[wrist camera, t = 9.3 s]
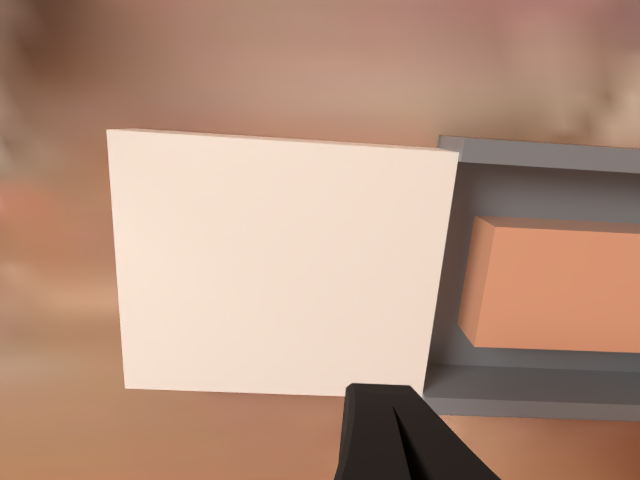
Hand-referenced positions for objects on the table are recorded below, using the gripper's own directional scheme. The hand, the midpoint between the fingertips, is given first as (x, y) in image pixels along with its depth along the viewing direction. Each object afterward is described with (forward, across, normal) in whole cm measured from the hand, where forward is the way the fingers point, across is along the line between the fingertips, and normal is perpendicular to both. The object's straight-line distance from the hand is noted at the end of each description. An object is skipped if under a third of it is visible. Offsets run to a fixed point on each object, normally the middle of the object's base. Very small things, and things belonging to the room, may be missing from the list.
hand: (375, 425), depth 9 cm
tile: (+10, -9, 0) cm, 13 cm away
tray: (+10, -10, 0) cm, 14 cm away
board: (+10, +2, 0) cm, 10 cm away
